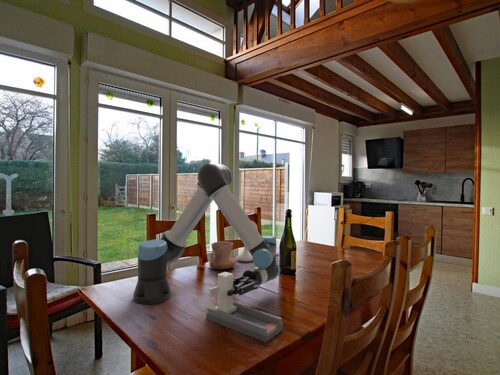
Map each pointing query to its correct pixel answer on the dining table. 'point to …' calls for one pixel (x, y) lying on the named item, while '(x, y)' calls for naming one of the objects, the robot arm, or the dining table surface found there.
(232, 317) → the switch base
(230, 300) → the switch lever
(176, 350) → the dining table surface
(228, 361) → the dining table surface
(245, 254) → the flower in vase
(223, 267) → the ceramic jug
